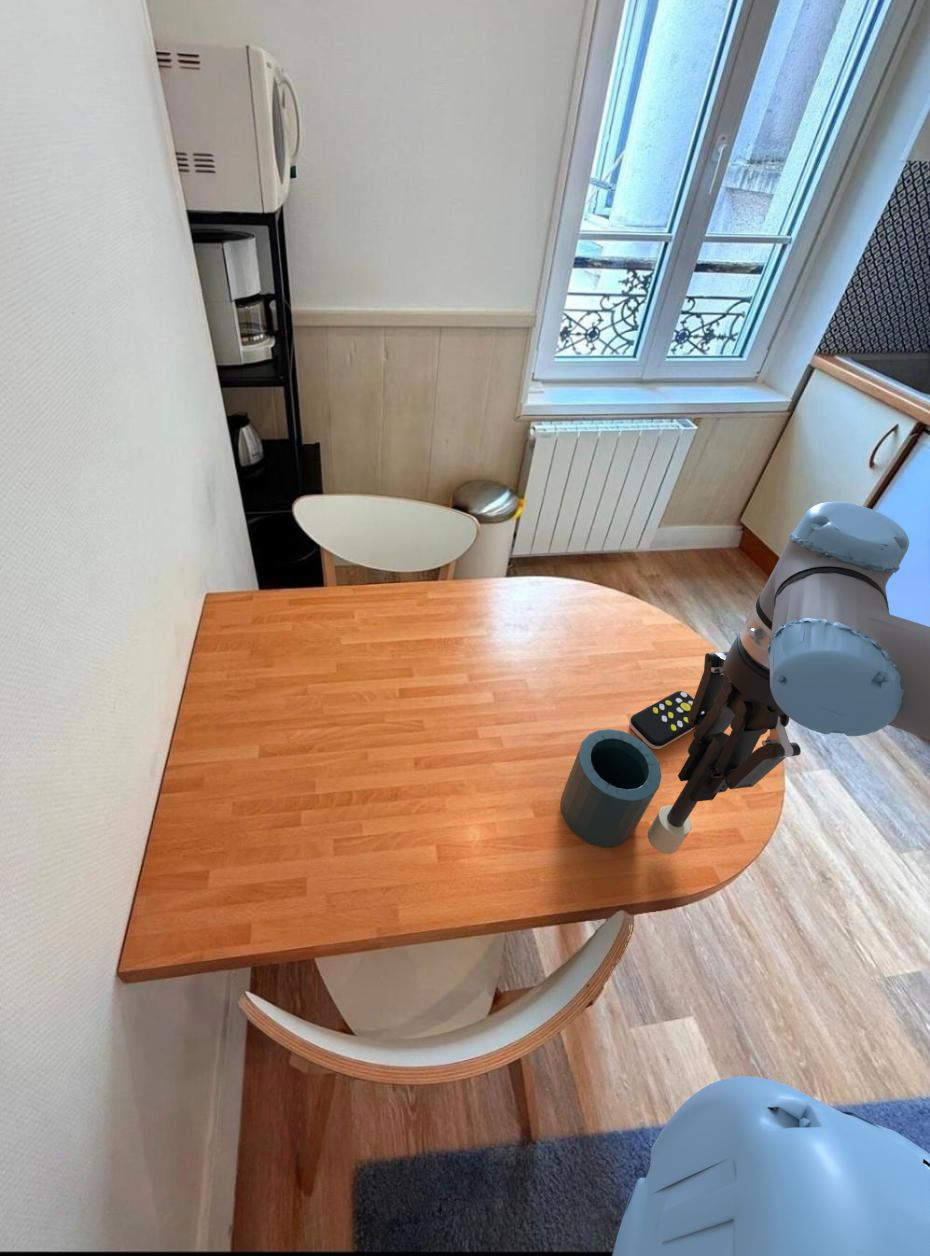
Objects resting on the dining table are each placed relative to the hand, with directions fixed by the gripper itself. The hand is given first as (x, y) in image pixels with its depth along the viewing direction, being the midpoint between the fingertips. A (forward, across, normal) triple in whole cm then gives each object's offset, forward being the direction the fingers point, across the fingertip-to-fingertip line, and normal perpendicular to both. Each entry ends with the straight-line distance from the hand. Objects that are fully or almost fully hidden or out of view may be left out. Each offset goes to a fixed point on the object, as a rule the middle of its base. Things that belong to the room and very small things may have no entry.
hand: (695, 787), depth 73 cm
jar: (+15, -6, -6) cm, 17 cm away
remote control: (+15, -19, +11) cm, 26 cm away
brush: (+12, 0, 0) cm, 12 cm away
